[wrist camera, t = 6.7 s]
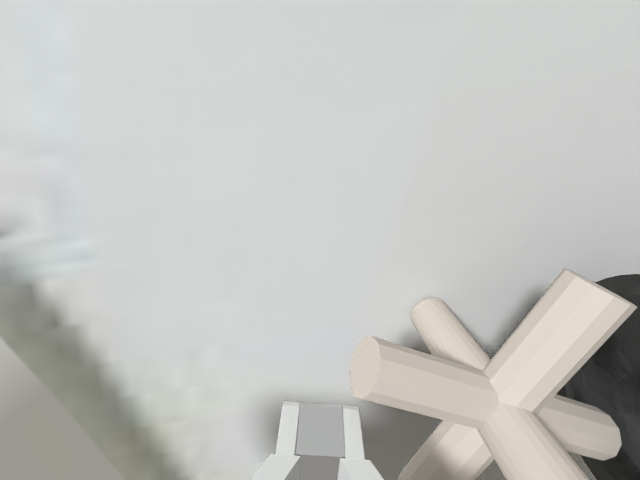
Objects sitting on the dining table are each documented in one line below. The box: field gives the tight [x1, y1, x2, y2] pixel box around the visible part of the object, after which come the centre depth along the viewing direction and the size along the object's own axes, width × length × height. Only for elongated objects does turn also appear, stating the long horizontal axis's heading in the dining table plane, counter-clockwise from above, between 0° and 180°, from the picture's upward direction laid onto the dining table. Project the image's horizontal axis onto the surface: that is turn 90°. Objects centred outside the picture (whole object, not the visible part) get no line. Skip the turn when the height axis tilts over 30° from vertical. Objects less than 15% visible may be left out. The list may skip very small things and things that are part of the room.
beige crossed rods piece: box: [349, 268, 637, 480], centre depth 10 cm, size 10×10×10 cm
